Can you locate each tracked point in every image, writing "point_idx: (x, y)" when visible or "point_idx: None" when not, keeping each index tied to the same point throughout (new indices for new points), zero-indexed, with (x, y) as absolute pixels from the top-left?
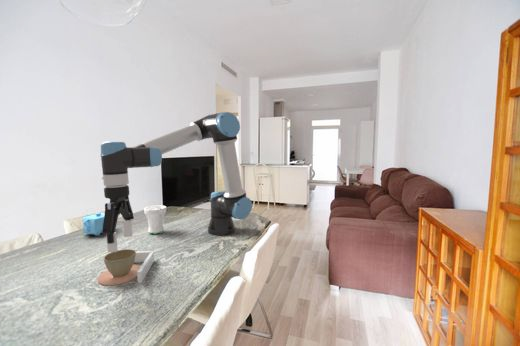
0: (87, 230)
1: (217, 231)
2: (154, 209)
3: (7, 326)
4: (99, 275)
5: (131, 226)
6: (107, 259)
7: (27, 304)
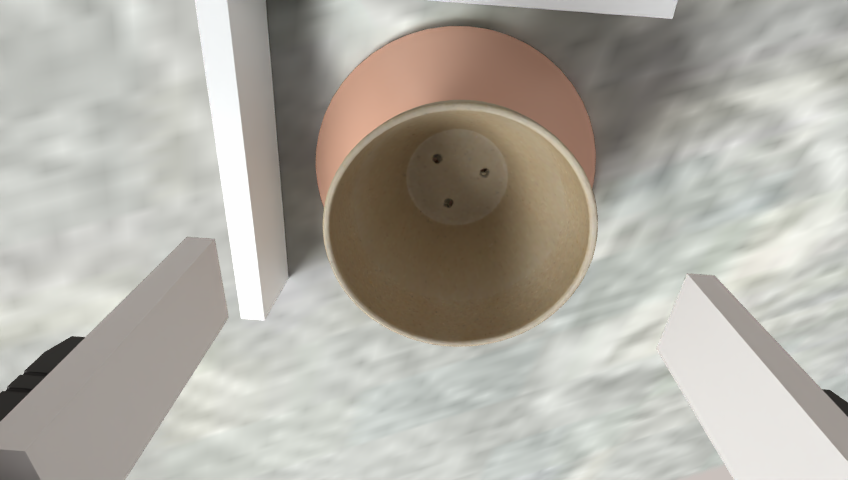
0: None
1: None
2: None
3: None
4: None
5: (103, 331)
6: (435, 312)
7: (615, 457)
